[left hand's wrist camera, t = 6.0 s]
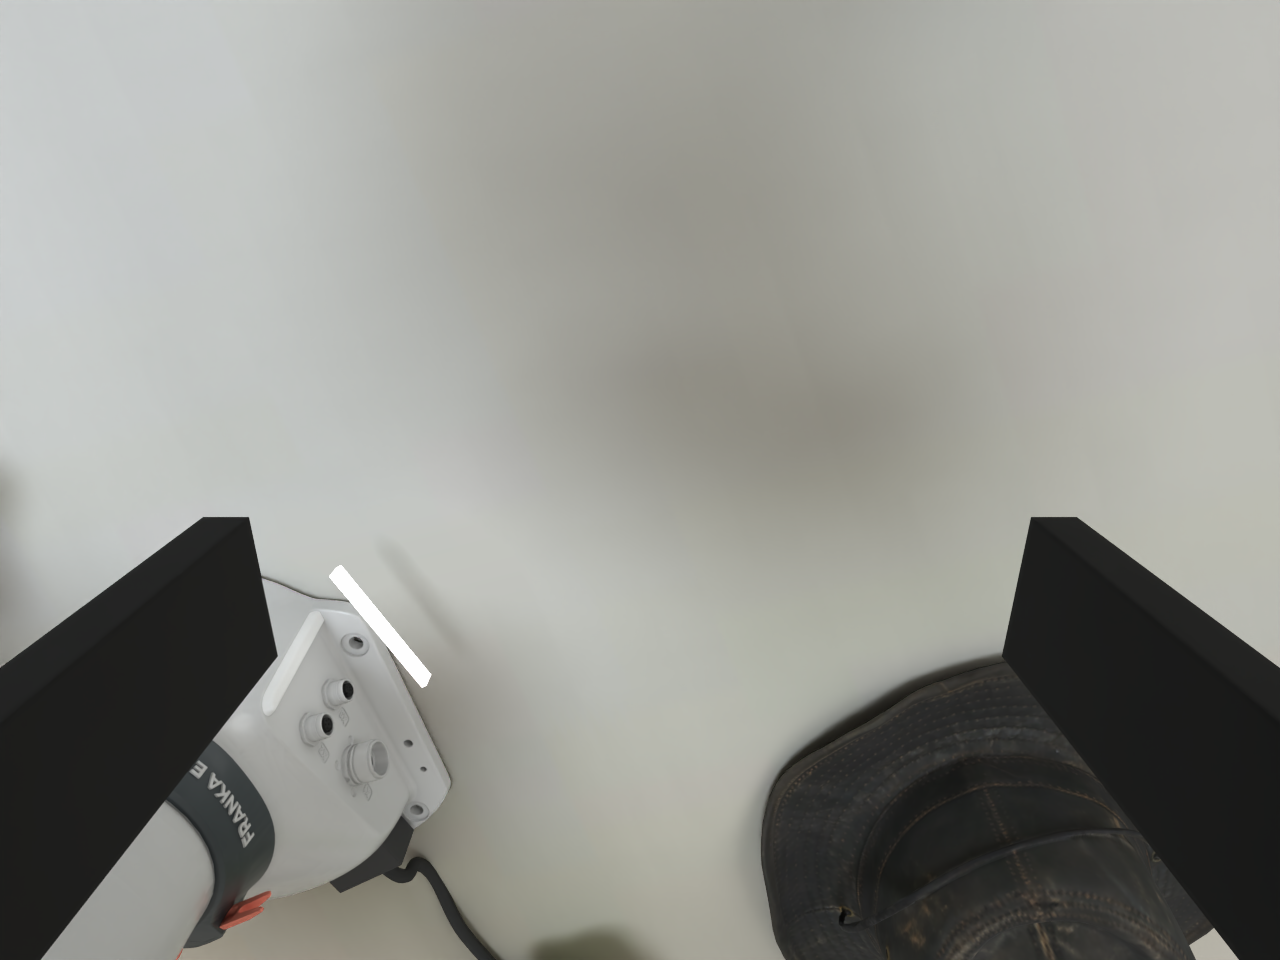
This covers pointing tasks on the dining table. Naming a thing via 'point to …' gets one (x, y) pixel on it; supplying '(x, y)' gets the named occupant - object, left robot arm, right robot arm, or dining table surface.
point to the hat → (964, 842)
